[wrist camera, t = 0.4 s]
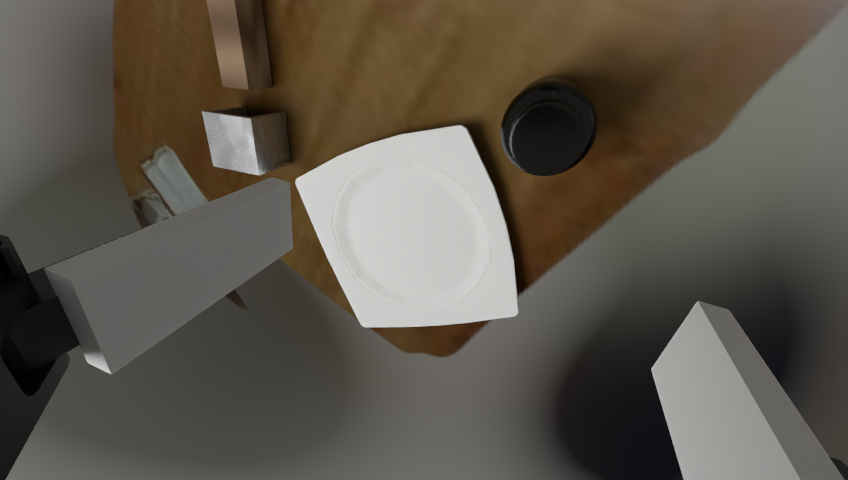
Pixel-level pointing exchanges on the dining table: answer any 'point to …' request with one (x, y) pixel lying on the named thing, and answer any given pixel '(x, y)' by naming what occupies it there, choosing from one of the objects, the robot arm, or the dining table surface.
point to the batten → (240, 43)
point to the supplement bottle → (549, 127)
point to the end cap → (247, 140)
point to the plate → (414, 230)
